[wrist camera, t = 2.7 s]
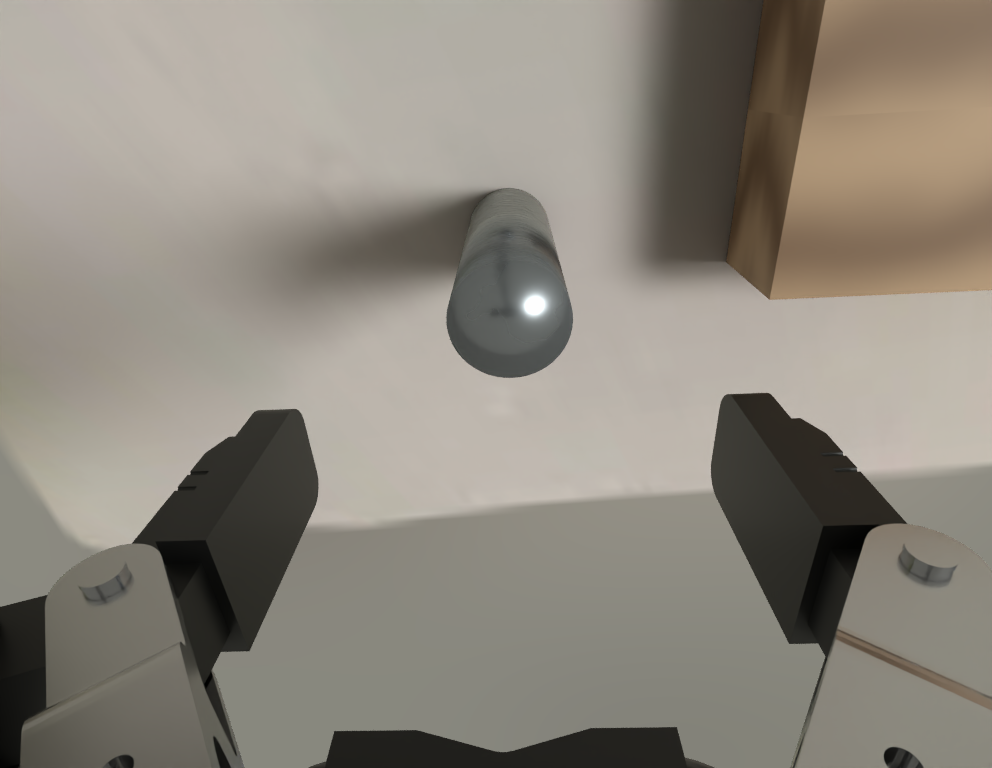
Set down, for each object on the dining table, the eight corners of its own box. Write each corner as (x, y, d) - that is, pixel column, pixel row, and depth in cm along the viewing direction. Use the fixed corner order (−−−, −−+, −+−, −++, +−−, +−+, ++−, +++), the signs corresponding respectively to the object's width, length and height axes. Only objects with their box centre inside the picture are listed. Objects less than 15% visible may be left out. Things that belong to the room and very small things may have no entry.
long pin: (466, 190, 25) (440, 263, 15) (548, 186, 25) (573, 257, 15) (472, 269, 27) (452, 380, 17) (549, 266, 27) (572, 375, 17)
